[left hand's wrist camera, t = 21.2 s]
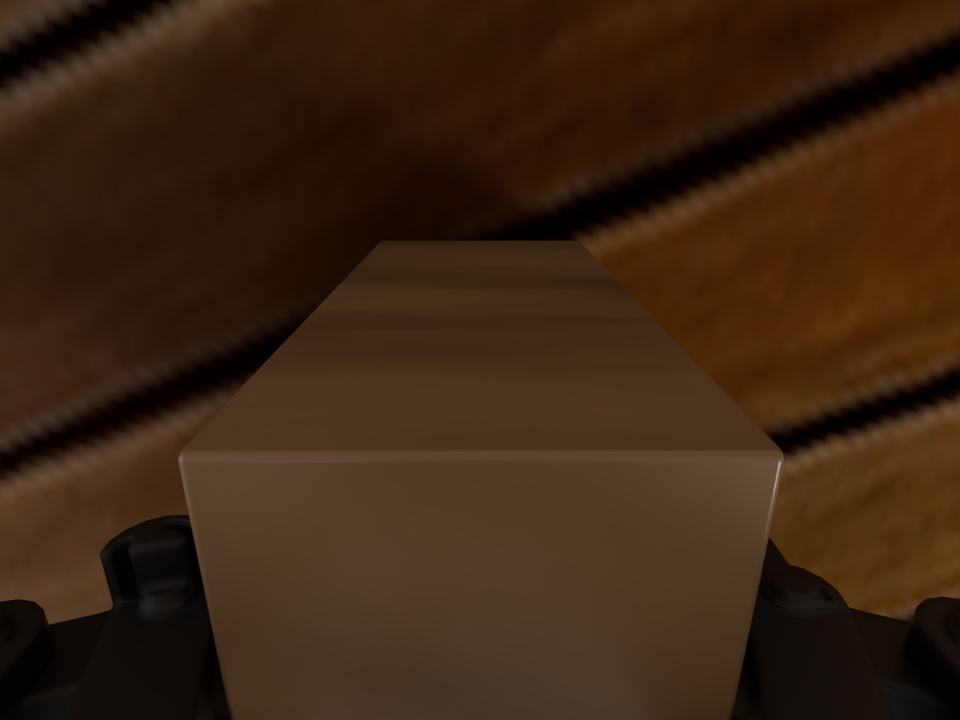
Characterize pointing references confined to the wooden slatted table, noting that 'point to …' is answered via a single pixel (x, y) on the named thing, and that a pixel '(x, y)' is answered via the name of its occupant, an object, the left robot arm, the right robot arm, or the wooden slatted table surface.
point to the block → (481, 502)
